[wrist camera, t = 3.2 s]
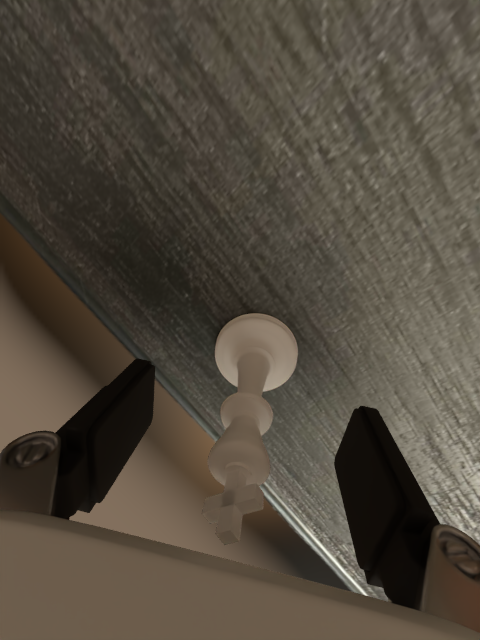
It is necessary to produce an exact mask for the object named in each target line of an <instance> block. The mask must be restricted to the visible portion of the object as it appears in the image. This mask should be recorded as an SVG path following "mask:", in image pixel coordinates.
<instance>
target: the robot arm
mask: <svg viewBox="0 0 480 640" xmlns="http://www.w3.org/2000/svg"><path fill="white" fill-rule="evenodd" d="M154 380H155V366H154V365H152V364H151V362H150V361H147V360H142V359H135V360H134V361H133V362H132V363H131V364H130V365H129V366H128V367H127V368H126V369H125V370H124V371H123V372H122V373H121V374H120V375H119V376H118V377H117V378H116V379H114V380H113V381H112V382H111V383H110V384H109V385H108V386H105V387H104V388H102V389H101V390H100V391H99V392H98V393H97V394H96V395H95V396H94V397H93V398H92V399H91V400H90V401H89V402H87V404H85V405H84V406H83V407H82V408H81V409H80V410H79V411H78V412H77V413H76V414H75V415H74V416H73V417H72V418H71V419H70V420H68V421H67V422H66V423H65V424H64V425H63V426H62V427H61V428H60V429H59V430H58V431H57V432H56V433H54V432H51V431H36V432H32V433H29V434H26V435H23V436H21V437H19V438H17V439H16V440H14V441H12V442H11V443H9V444H8V445H7V446H6V447H5V448H4V449H3V450H2V452H1V453H0V640H480V545H479V544H478V543H477V542H476V541H475V540H473V539H472V538H471V537H469V536H468V535H467V534H465V533H464V532H462V531H460V530H459V529H457V528H455V527H452V526H449V525H446V524H440V523H439V521H438V519H437V517H436V516H435V514H434V512H433V510H432V508H431V506H430V505H429V503H428V501H427V499H426V497H425V495H424V494H423V492H422V490H421V488H420V486H419V485H418V483H417V481H416V479H415V477H414V475H413V474H412V472H411V470H410V468H409V466H408V464H407V463H406V461H405V459H404V457H403V455H402V454H401V452H400V450H399V448H398V446H397V444H396V443H395V441H394V439H393V437H392V435H391V433H390V432H389V430H388V428H387V426H386V424H385V422H384V421H383V419H382V417H381V415H380V413H379V411H378V410H377V409H375V408H370V407H365V406H360V407H359V408H358V409H357V408H356V409H354V411H353V413H352V416H351V418H350V421H349V423H348V426H347V429H346V431H345V434H344V436H343V439H342V441H341V444H340V446H339V449H338V451H337V454H336V456H335V462H334V465H335V470H336V475H337V479H338V483H339V487H340V491H341V495H342V500H343V504H344V508H345V512H346V516H347V520H348V524H349V529H350V533H351V537H352V541H353V545H354V549H355V554H356V558H357V562H358V565H359V567H360V568H361V569H363V570H364V572H365V576H366V580H367V584H370V585H374V586H378V587H382V588H384V592H385V595H386V596H387V597H388V602H387V601H383V600H380V599H376V598H373V597H369V596H365V595H361V594H358V593H354V592H350V591H346V590H342V589H339V588H335V587H331V586H327V585H324V584H320V583H316V582H312V581H308V580H305V579H301V578H297V577H293V576H289V575H286V574H282V573H278V572H274V571H270V570H267V569H262V568H259V567H255V566H251V565H247V564H243V563H239V562H236V561H232V560H228V559H224V558H220V557H216V556H212V555H208V554H204V553H200V552H196V551H192V550H188V549H185V548H181V547H177V546H173V545H169V544H165V543H161V542H157V541H153V540H149V539H145V538H141V537H137V536H133V535H129V534H125V533H121V532H117V531H113V530H109V529H106V528H101V527H97V526H93V525H89V524H83V523H79V522H75V521H71V520H69V517H70V516H72V515H74V514H75V513H76V511H77V510H80V511H84V512H87V513H90V511H91V510H92V508H93V507H94V505H95V504H96V502H97V503H100V502H101V501H102V500H103V499H104V498H105V496H106V494H107V493H108V491H109V489H110V488H111V486H112V485H113V483H114V482H115V480H116V478H117V477H118V475H119V473H120V472H121V470H122V469H123V467H124V466H125V464H126V462H127V461H128V459H129V457H130V456H131V455H132V453H133V451H134V450H135V448H136V447H137V445H138V443H139V442H140V440H141V438H142V437H143V435H144V434H145V432H146V431H147V429H148V427H149V426H150V424H151V422H152V418H153V402H154Z"/></svg>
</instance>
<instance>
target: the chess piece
mask: <svg viewBox="0 0 480 640" xmlns="http://www.w3.org/2000/svg"><path fill="white" fill-rule="evenodd" d="M297 357H298V347H297V342H296V339H295V337H294V335H293V333H292V332H291V331H290V329H289V328H288V327H287V326H286V325H285V324H284V323H282V322H281V321H280V320H278V319H276V318H274V317H272V316H269V315H265V314H259V313H251V314H245V315H241V316H238V317H236V318H234V319H232V320H231V321H230V322H228V323H227V324H226V325H225V326H224V327H223V328H222V330H221V331H220V333H219V335H218V338H217V341H216V347H215V360H216V364H217V366H218V368H219V370H220V372H221V374H222V375H223V376H224V377H225V378H226V379H227V380H228V381H229V382H230V383H231V384H233V385H235V386H236V387H238V392H237V393H235V394H232V395H230V396H229V397H227V398H226V399H225V400H224V402H223V403H222V406H221V410H220V414H221V420H222V423H223V425H224V427H225V428H226V430H225V432H224V434H223V435H222V436H221V437H220V438H219V439H218V440H217V442H216V443H215V445H214V446H213V448H212V449H211V451H210V453H209V456H208V467H209V470H210V472H211V474H212V475H213V477H214V478H215V479H216V480H217V481H218V482H219V483H221V484H222V485H224V486H225V487H224V492H223V493H221V494H217V495H214V496H211V497H207V498H206V499H205V502H204V506H203V510H202V515H203V516H204V517H205V518H206V520H207V521H208V522H209V523H210V524H211V523H215V522H218V523H217V528H216V535H217V536H218V538H219V539H220V540H221V541H222V542H223V543H224V545H227V544H231V543H235V542H239V541H240V531H241V523H242V515H244V514H247V513H250V512H254V511H258V510H262V509H263V498H264V493H263V492H262V490H261V489H260V487H259V486H260V485H261V484H263V483H264V482H265V481H266V479H267V478H268V476H269V473H270V460H269V457H268V453H267V450H266V448H265V446H264V444H263V441H262V437H261V435H263V434H264V433H265V432H267V430H268V429H269V427H270V425H271V423H272V420H273V411H272V408H271V406H270V405H269V403H268V402H267V401H266V400H265V399H264V398H262V397H261V396H262V393H263V392H264V391H269V390H272V389H275V388H277V387H279V386H281V385H282V384H283V383H285V382H286V381H287V380H288V379H289V378H290V376H291V375H292V373H293V372H294V370H295V367H296V363H297Z"/></svg>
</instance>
